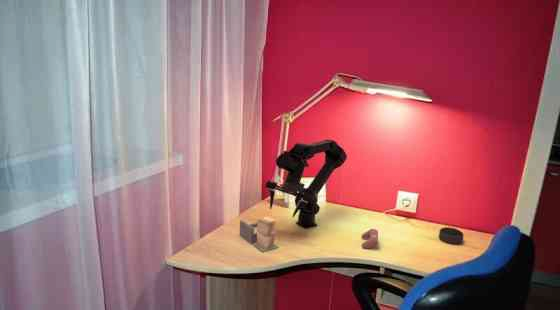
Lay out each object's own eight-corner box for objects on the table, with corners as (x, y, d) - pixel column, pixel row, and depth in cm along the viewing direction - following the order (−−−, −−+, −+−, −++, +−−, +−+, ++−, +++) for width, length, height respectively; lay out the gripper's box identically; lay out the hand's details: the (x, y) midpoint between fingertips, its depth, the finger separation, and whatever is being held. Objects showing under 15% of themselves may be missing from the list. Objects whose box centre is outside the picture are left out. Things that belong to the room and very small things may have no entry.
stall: (259, 230, 159) (259, 216, 157) (271, 238, 152) (271, 223, 151) (239, 234, 154) (240, 220, 152) (251, 243, 147) (251, 228, 146)
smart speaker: (460, 237, 162) (461, 228, 161) (464, 247, 154) (465, 237, 153) (437, 234, 165) (438, 225, 164) (439, 243, 156) (441, 233, 155)
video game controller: (371, 253, 147) (381, 239, 145) (360, 247, 148) (370, 232, 146) (370, 242, 157) (380, 228, 155) (360, 236, 157) (370, 222, 155)
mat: (267, 240, 150) (267, 239, 150) (278, 247, 145) (278, 246, 145) (252, 244, 146) (252, 243, 146) (262, 252, 141) (262, 251, 141)
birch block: (264, 241, 149) (265, 216, 146) (273, 245, 146) (275, 219, 144) (256, 245, 145) (257, 219, 143) (266, 249, 142) (267, 223, 140)
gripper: (272, 165, 146) (258, 206, 144) (320, 182, 146) (306, 222, 144) (271, 167, 157) (258, 204, 155) (316, 182, 157) (303, 220, 156)
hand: (281, 213), depth 152 cm, fingers open, 9 cm apart
